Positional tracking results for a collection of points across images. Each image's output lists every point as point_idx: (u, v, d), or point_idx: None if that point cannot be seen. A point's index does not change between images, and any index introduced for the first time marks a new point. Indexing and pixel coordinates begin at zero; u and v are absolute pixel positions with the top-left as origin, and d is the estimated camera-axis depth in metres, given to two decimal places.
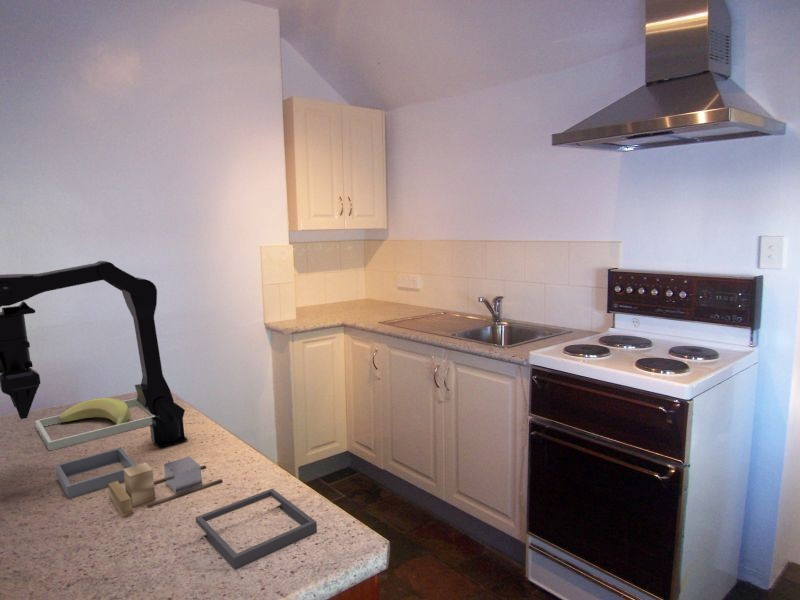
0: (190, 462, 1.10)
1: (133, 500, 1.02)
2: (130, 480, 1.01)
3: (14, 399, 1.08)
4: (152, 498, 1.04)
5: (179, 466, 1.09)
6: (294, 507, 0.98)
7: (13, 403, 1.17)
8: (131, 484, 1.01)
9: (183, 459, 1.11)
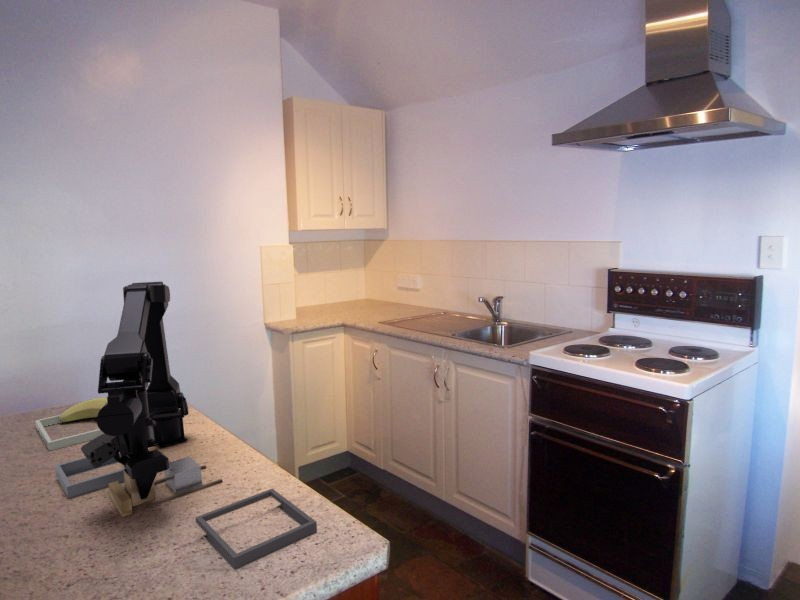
0: (190, 462, 1.10)
1: (133, 500, 1.02)
2: (130, 480, 1.01)
3: (137, 480, 1.00)
4: (152, 498, 1.04)
5: (179, 466, 1.09)
6: (294, 507, 0.98)
7: None
8: (131, 484, 1.01)
9: (183, 459, 1.11)
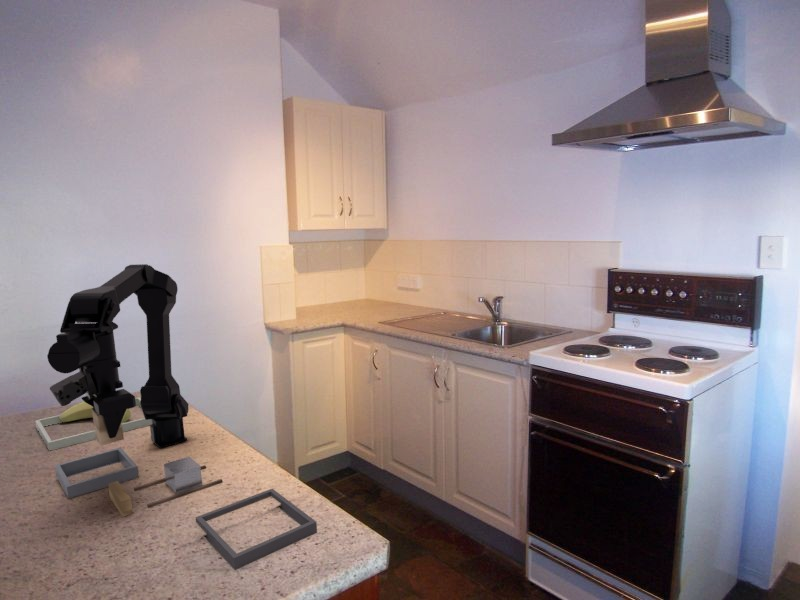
0: (190, 462, 1.10)
1: (102, 439, 1.06)
2: (98, 419, 1.05)
3: (105, 418, 1.04)
4: (120, 438, 1.08)
5: (179, 466, 1.09)
6: (294, 507, 0.98)
7: None
8: (99, 423, 1.06)
9: (183, 459, 1.11)
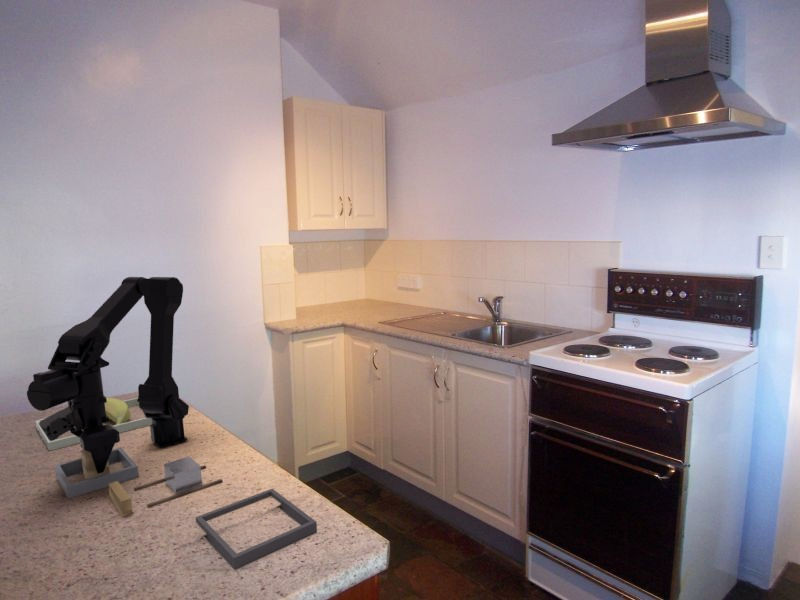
0: (190, 462, 1.10)
1: (89, 478, 1.11)
2: (86, 460, 1.11)
3: (93, 455, 1.08)
4: None
5: (179, 466, 1.09)
6: (294, 507, 0.98)
7: None
8: (87, 463, 1.11)
9: (183, 459, 1.11)
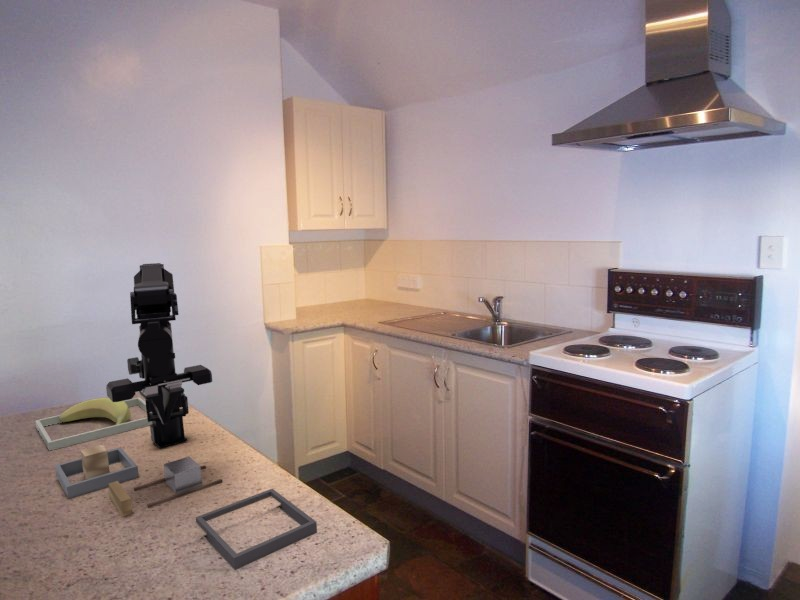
0: (190, 462, 1.10)
1: (89, 478, 1.11)
2: (86, 460, 1.11)
3: (151, 402, 1.11)
4: None
5: (179, 466, 1.09)
6: (294, 507, 0.98)
7: None
8: (87, 463, 1.11)
9: (183, 459, 1.11)
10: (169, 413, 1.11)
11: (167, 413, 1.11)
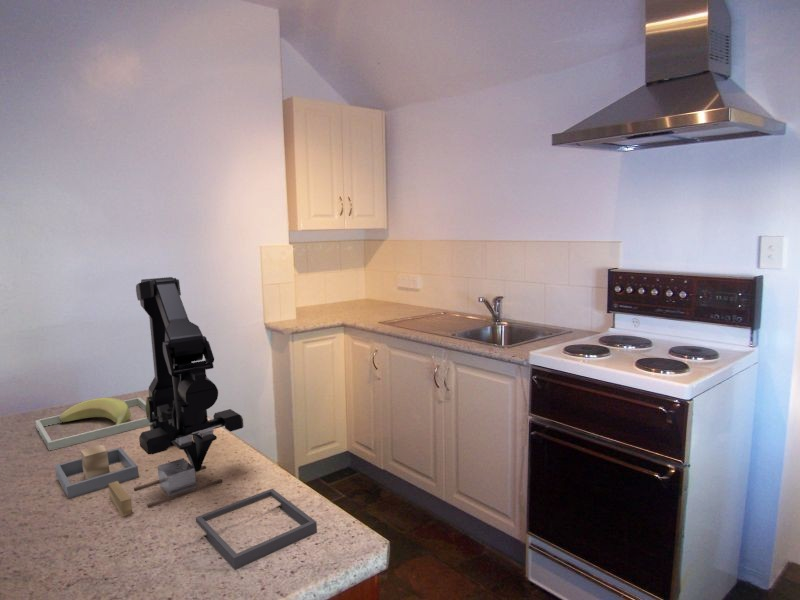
0: (184, 463, 1.10)
1: (89, 478, 1.11)
2: (86, 460, 1.11)
3: None
4: None
5: (173, 468, 1.08)
6: (294, 507, 0.98)
7: None
8: (87, 463, 1.11)
9: (177, 461, 1.11)
10: (201, 461, 1.10)
11: (200, 461, 1.10)
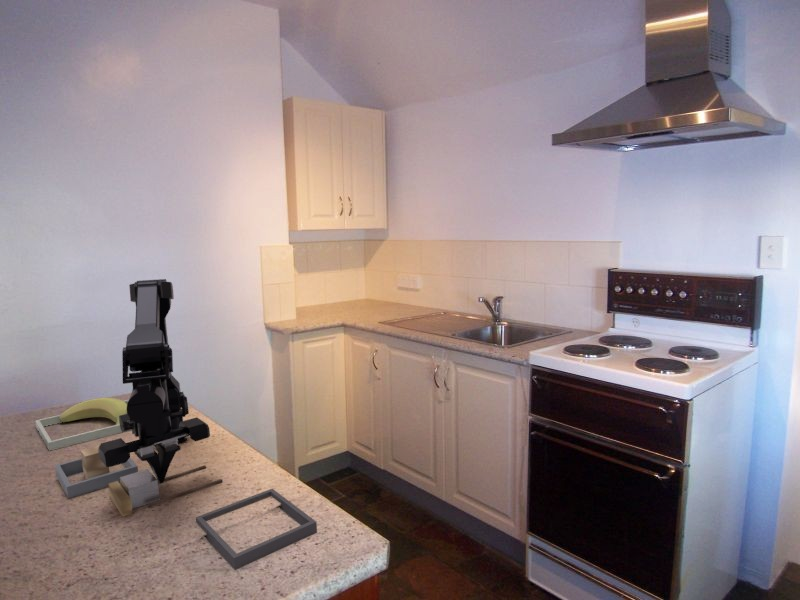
0: (147, 475, 1.05)
1: (89, 478, 1.11)
2: (86, 460, 1.11)
3: (146, 460, 1.06)
4: None
5: (135, 479, 1.04)
6: (294, 507, 0.98)
7: None
8: (87, 463, 1.11)
9: (141, 472, 1.06)
10: (165, 472, 1.06)
11: (163, 472, 1.05)
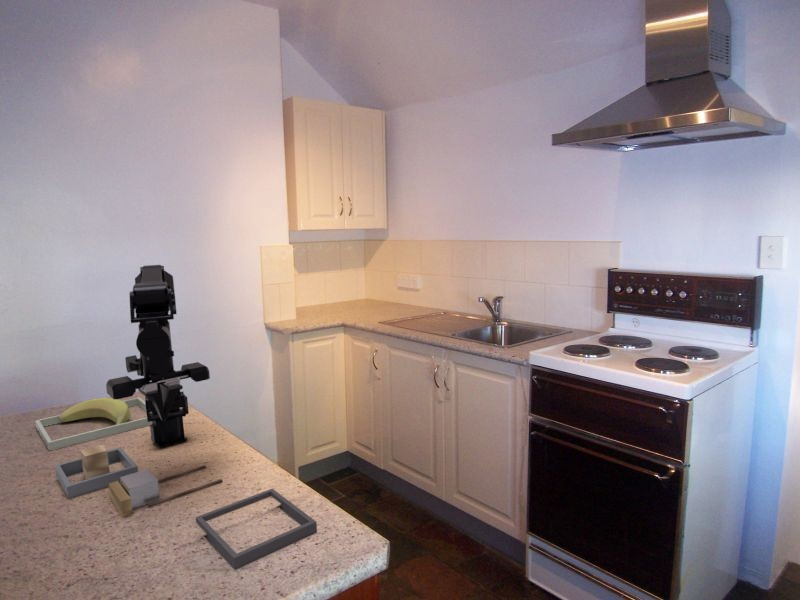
0: (147, 475, 1.05)
1: (89, 478, 1.11)
2: (86, 460, 1.11)
3: (150, 399, 1.14)
4: None
5: (135, 479, 1.04)
6: (294, 507, 0.98)
7: None
8: (87, 463, 1.11)
9: (141, 472, 1.06)
10: (168, 409, 1.14)
11: (166, 409, 1.14)
